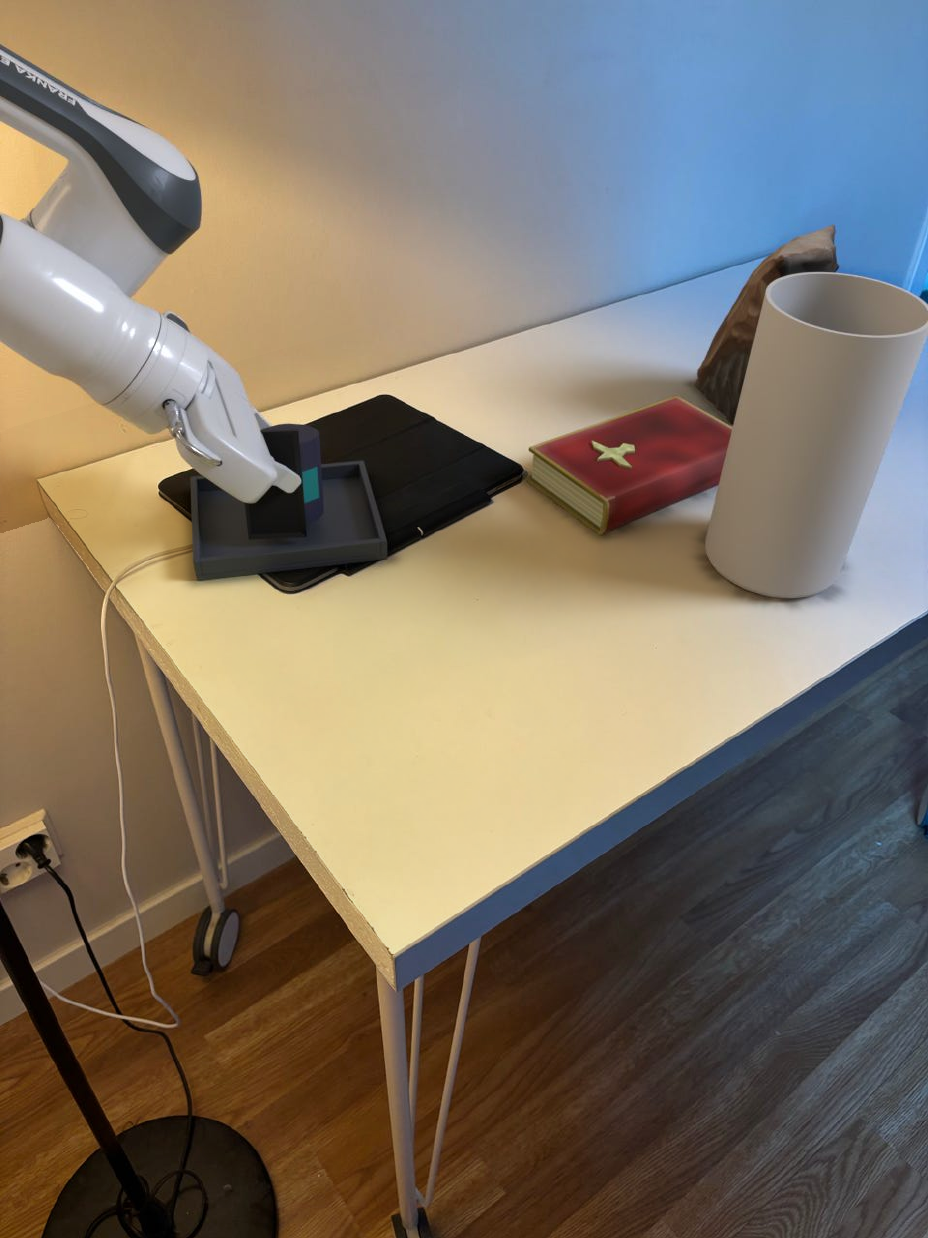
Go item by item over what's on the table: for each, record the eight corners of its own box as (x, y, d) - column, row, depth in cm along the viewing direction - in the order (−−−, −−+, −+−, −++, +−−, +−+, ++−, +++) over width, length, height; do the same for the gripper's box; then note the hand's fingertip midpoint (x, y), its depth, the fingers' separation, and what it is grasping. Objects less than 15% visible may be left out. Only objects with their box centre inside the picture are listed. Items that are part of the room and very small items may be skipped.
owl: (792, 383, 118) (839, 216, 105) (825, 434, 108) (881, 258, 95) (691, 381, 117) (726, 213, 104) (716, 433, 108) (756, 256, 95)
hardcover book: (750, 474, 101) (759, 439, 99) (602, 537, 92) (608, 500, 89) (670, 426, 109) (677, 392, 106) (525, 480, 99) (529, 444, 96)
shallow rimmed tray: (196, 581, 85) (193, 562, 84) (193, 494, 95) (190, 476, 94) (387, 559, 88) (387, 540, 87) (364, 477, 99) (363, 460, 97)
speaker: (306, 547, 86) (296, 441, 80) (247, 540, 87) (232, 434, 82) (334, 510, 92) (327, 408, 87) (279, 503, 93) (267, 402, 88)
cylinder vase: (867, 585, 87) (970, 325, 71) (752, 615, 84) (833, 347, 67) (785, 512, 96) (860, 264, 80) (678, 535, 92) (734, 281, 76)
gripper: (199, 407, 70) (336, 498, 79) (168, 302, 85) (286, 388, 94) (148, 469, 72) (288, 550, 81) (126, 355, 87) (246, 435, 96)
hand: (287, 463), depth 88 cm, fingers closed on speaker, 6 cm apart
